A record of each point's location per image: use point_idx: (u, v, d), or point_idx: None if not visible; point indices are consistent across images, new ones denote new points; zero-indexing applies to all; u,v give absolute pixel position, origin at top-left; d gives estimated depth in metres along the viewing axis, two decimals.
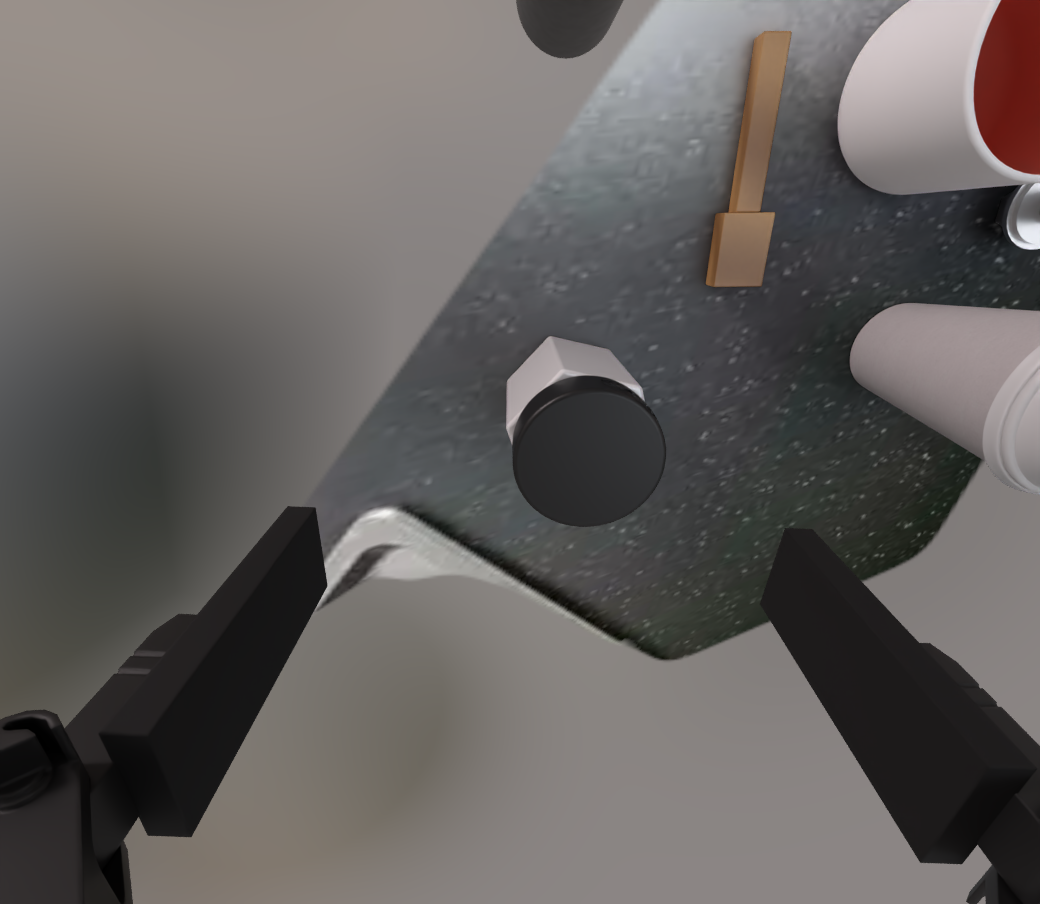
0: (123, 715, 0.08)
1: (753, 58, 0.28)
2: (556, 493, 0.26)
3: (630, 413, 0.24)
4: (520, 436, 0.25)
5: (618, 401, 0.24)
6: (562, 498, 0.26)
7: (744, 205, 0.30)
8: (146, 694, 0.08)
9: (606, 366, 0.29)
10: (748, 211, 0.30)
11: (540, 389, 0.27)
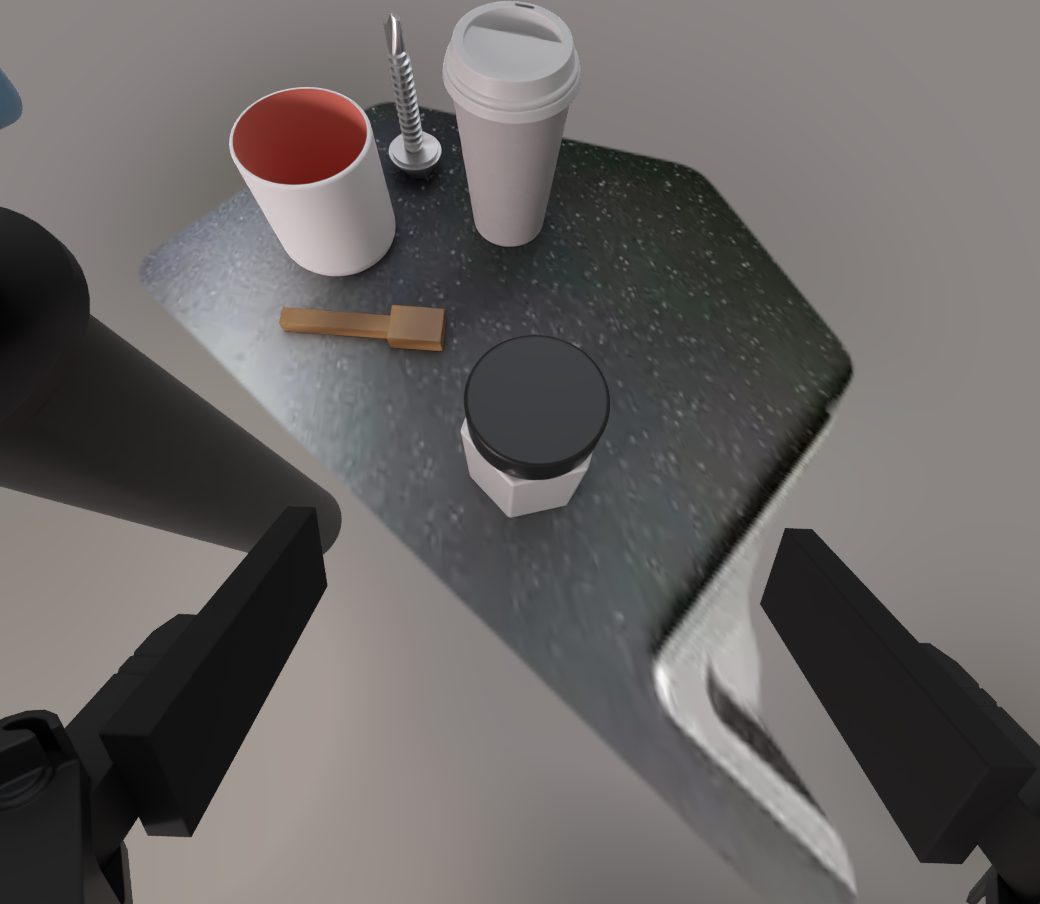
0: (123, 715, 0.08)
1: (294, 330, 0.41)
2: (569, 428, 0.26)
3: (490, 363, 0.27)
4: (504, 458, 0.26)
5: (478, 372, 0.27)
6: (574, 423, 0.26)
7: (384, 325, 0.40)
8: (146, 694, 0.08)
9: None
10: (388, 322, 0.40)
11: (478, 452, 0.29)
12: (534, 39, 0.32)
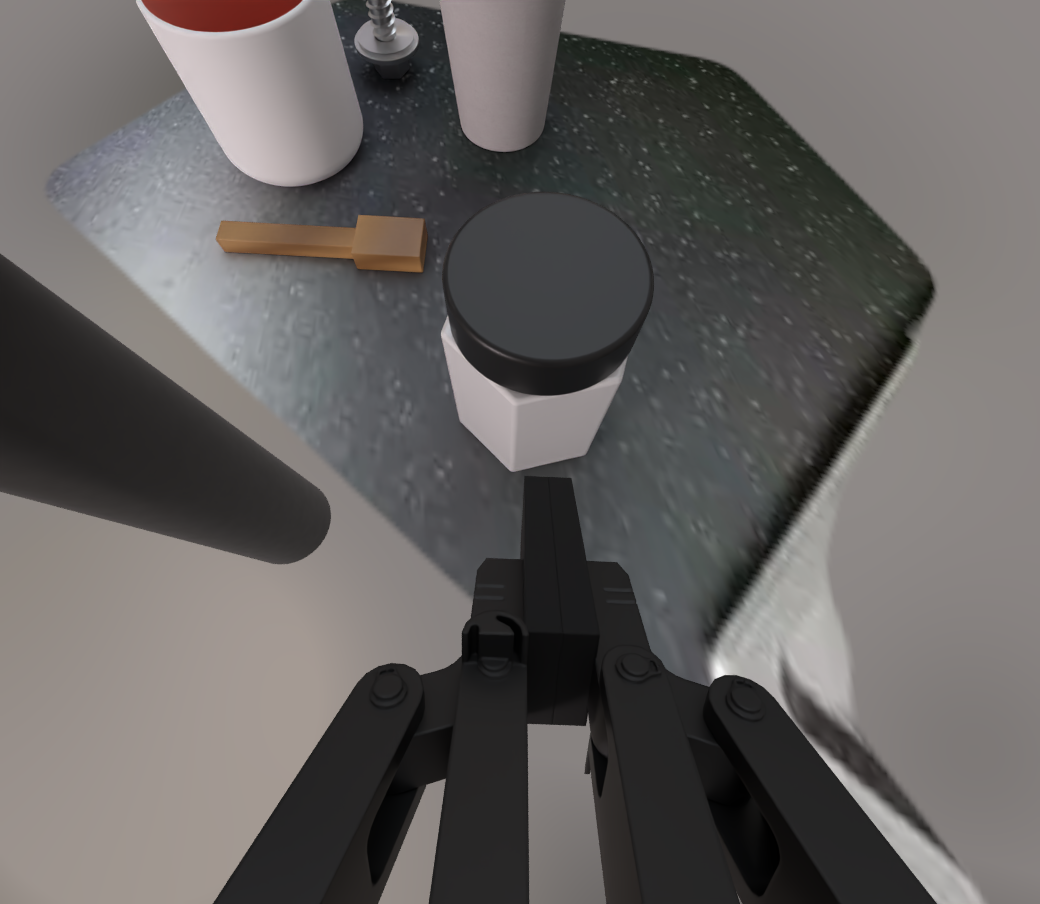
0: (533, 620, 0.10)
1: (237, 250, 0.33)
2: (596, 311, 0.18)
3: (480, 227, 0.19)
4: (502, 352, 0.17)
5: (462, 239, 0.19)
6: (604, 304, 0.18)
7: (348, 240, 0.32)
8: (536, 606, 0.10)
9: None
10: (354, 236, 0.32)
11: (466, 362, 0.20)
12: None
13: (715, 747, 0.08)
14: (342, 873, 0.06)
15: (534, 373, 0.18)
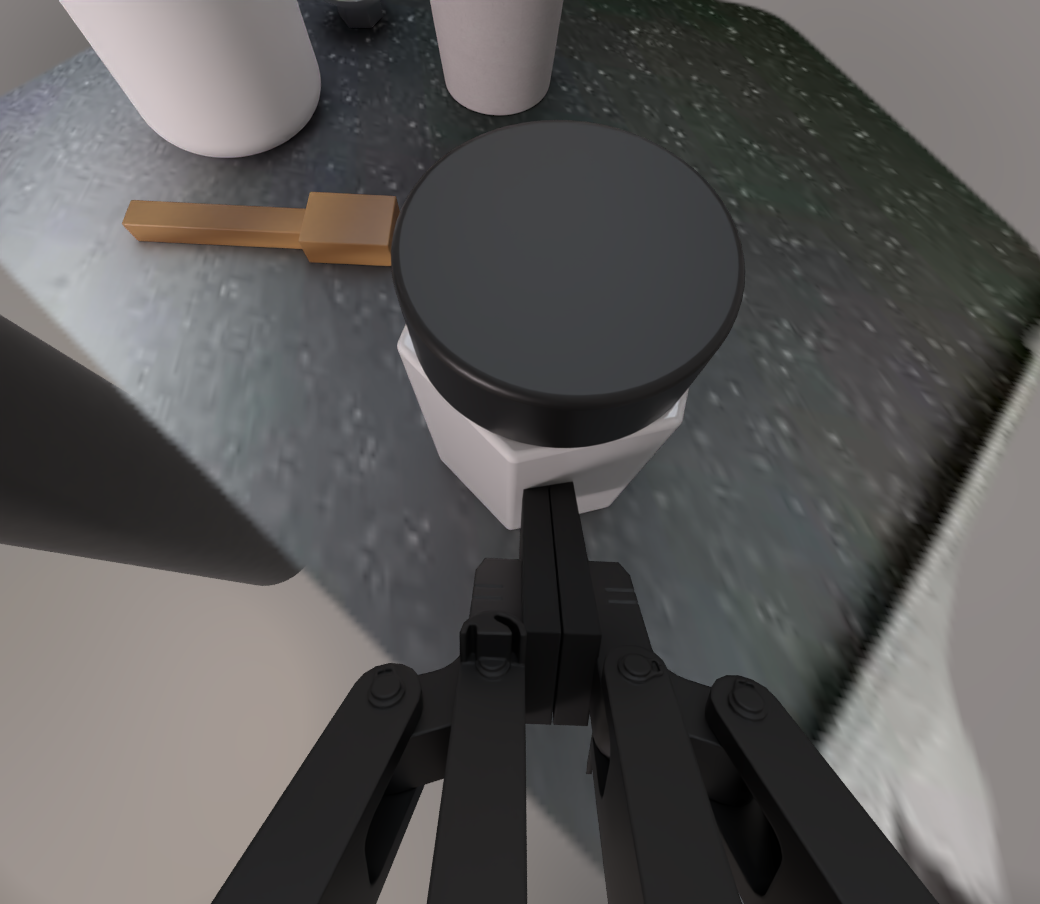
0: (531, 620, 0.10)
1: (153, 238, 0.25)
2: (651, 311, 0.10)
3: (456, 172, 0.12)
4: (489, 383, 0.10)
5: (426, 191, 0.11)
6: (665, 298, 0.11)
7: (296, 224, 0.24)
8: (535, 607, 0.10)
9: None
10: (303, 219, 0.24)
11: (436, 391, 0.13)
12: None
13: (717, 746, 0.08)
14: (340, 873, 0.06)
15: (544, 417, 0.10)
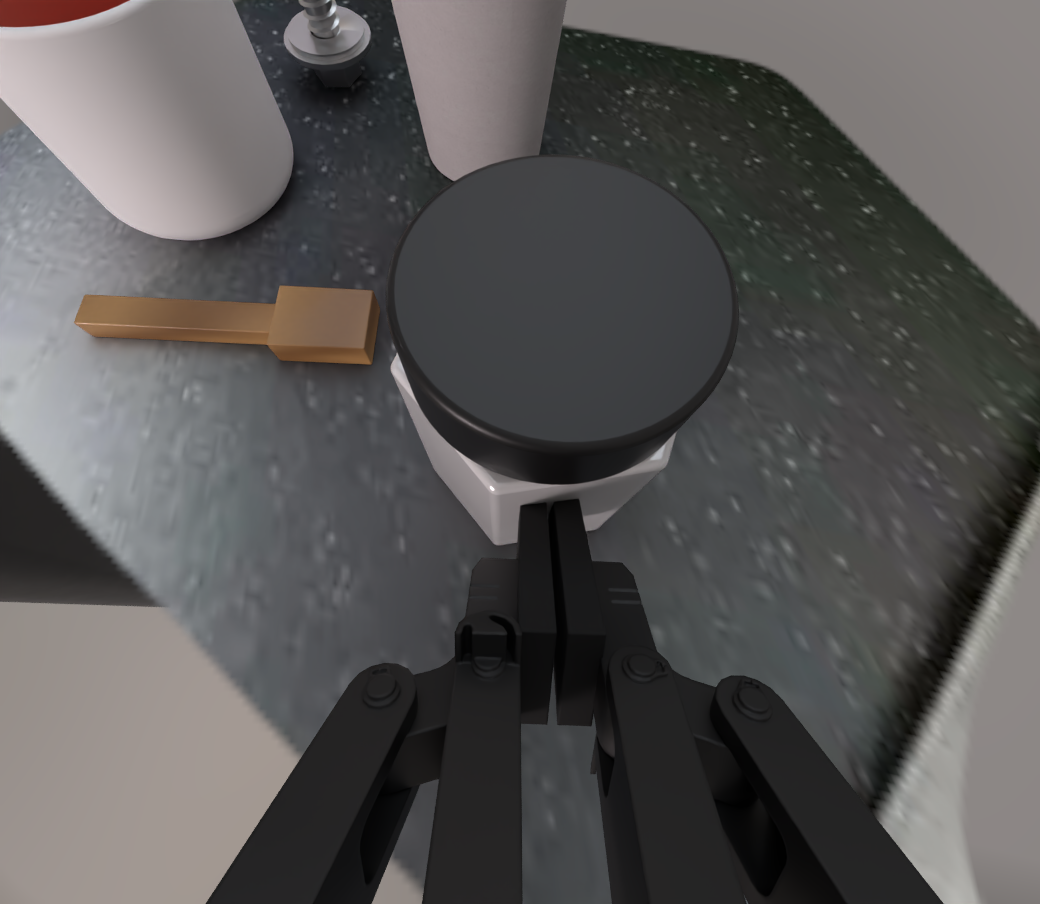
0: (526, 620, 0.10)
1: (109, 335, 0.23)
2: (639, 360, 0.10)
3: (458, 203, 0.12)
4: (472, 422, 0.10)
5: (427, 221, 0.11)
6: (655, 348, 0.11)
7: (265, 322, 0.23)
8: (530, 606, 0.10)
9: None
10: (272, 316, 0.23)
11: None
12: None
13: (723, 747, 0.08)
14: (335, 873, 0.06)
15: (525, 458, 0.10)
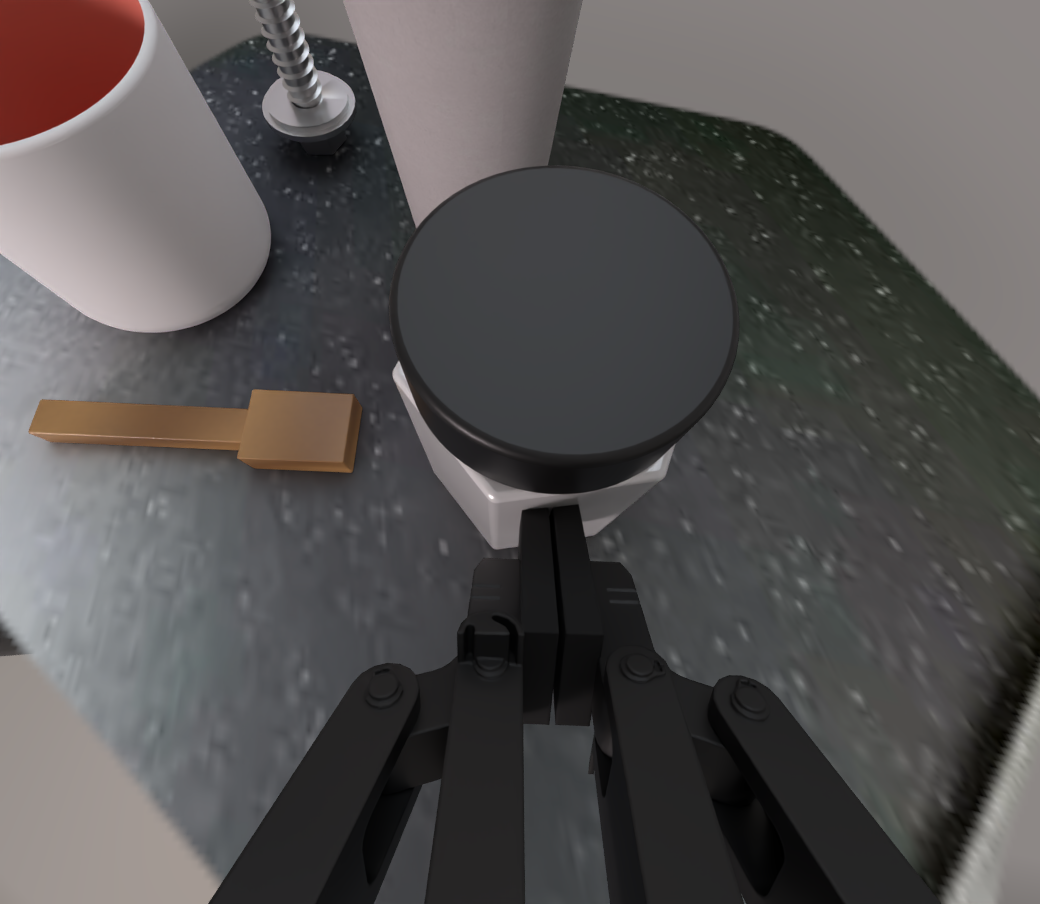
0: (529, 620, 0.10)
1: (68, 441, 0.21)
2: (640, 373, 0.11)
3: (463, 213, 0.12)
4: (472, 433, 0.10)
5: (431, 230, 0.11)
6: (655, 362, 0.11)
7: (236, 431, 0.21)
8: (533, 607, 0.10)
9: None
10: (244, 425, 0.21)
11: None
12: None
13: (720, 747, 0.08)
14: (337, 873, 0.06)
15: (524, 469, 0.10)
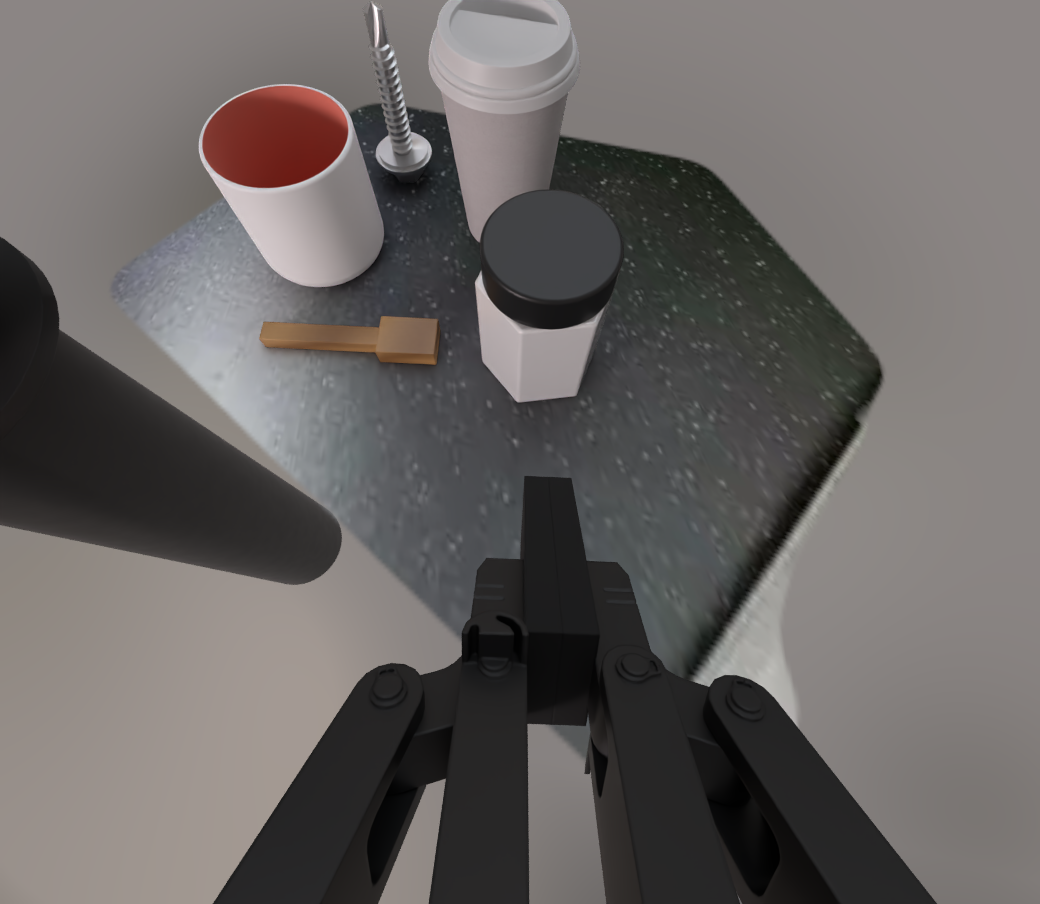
0: (533, 620, 0.10)
1: (276, 346, 0.38)
2: (580, 271, 0.26)
3: (509, 209, 0.28)
4: (514, 291, 0.26)
5: (496, 216, 0.28)
6: (587, 267, 0.27)
7: (373, 338, 0.37)
8: (536, 607, 0.10)
9: None
10: (377, 335, 0.37)
11: (490, 303, 0.29)
12: (527, 22, 0.29)
13: (715, 747, 0.08)
14: (342, 873, 0.06)
15: (534, 308, 0.26)
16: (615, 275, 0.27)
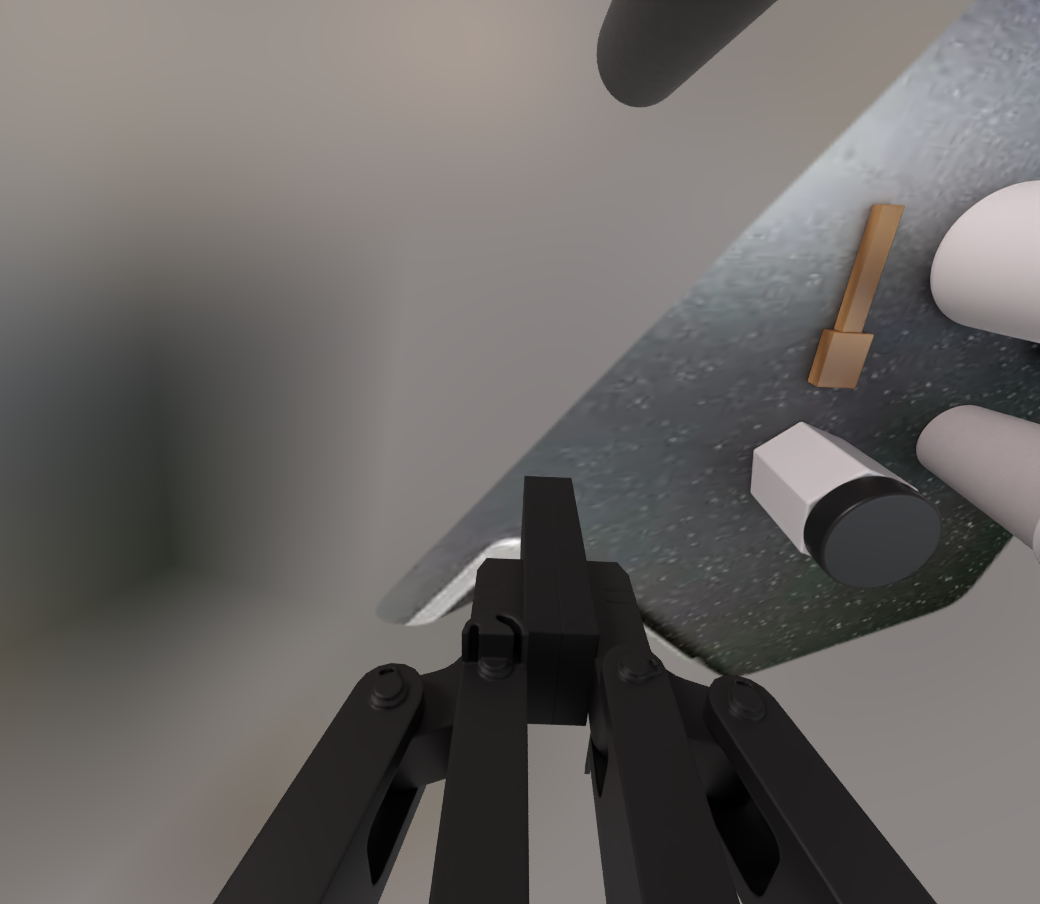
0: (533, 620, 0.10)
1: (870, 219, 0.36)
2: (847, 561, 0.34)
3: (927, 514, 0.33)
4: (841, 517, 0.33)
5: (923, 505, 0.32)
6: (849, 565, 0.35)
7: (849, 327, 0.38)
8: (536, 607, 0.10)
9: (874, 464, 0.38)
10: (852, 332, 0.38)
11: (842, 479, 0.35)
12: None
13: (715, 747, 0.08)
14: (342, 873, 0.06)
15: (823, 525, 0.34)
16: (836, 581, 0.35)
